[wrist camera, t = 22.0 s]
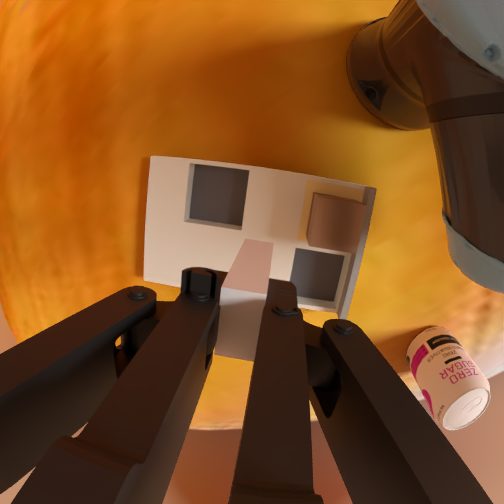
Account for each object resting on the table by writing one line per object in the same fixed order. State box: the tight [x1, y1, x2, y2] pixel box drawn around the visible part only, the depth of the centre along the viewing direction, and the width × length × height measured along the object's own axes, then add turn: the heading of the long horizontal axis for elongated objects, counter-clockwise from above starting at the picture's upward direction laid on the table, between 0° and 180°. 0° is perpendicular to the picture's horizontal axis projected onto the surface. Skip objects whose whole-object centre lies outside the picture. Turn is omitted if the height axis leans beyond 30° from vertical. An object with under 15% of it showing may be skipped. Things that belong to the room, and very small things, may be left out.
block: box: [306, 192, 366, 254], centre depth 33 cm, size 5×5×5 cm
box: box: [144, 156, 376, 320], centre depth 37 cm, size 26×16×4 cm, turn 82°
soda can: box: [406, 327, 491, 430], centre depth 34 cm, size 8×8×15 cm
